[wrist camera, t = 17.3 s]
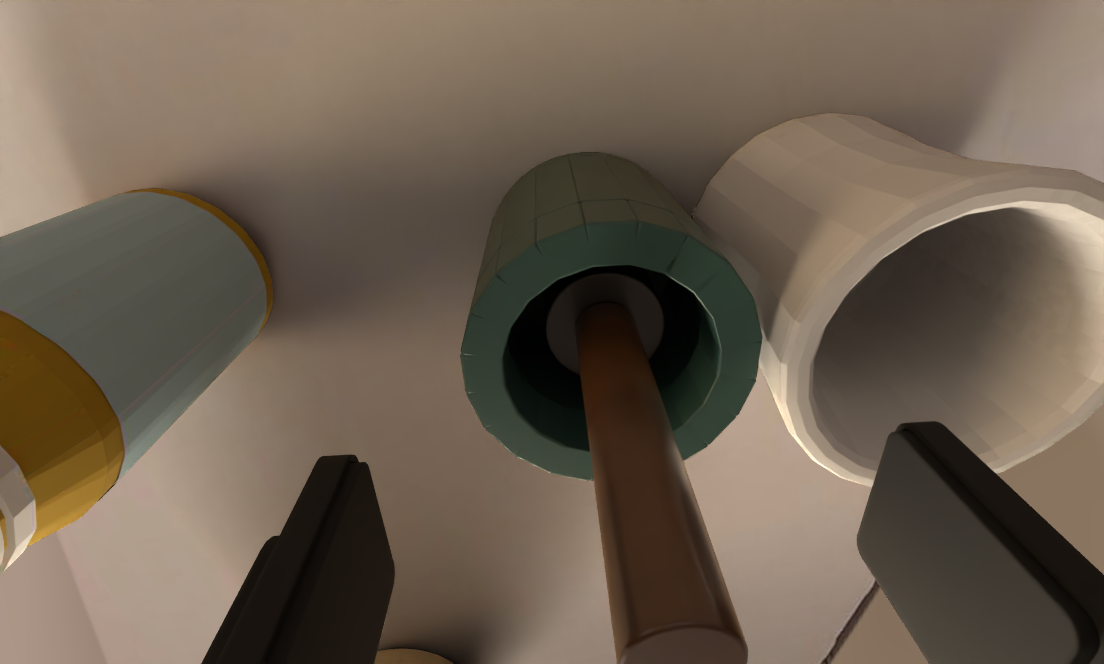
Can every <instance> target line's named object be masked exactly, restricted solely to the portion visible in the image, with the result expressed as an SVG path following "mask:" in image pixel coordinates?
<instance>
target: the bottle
mask: <svg viewBox="0 0 1104 664" xmlns="http://www.w3.org/2000/svg"><path fill="white" fill-rule="evenodd" d="M272 303H273V296H272V280H271V276H270V273H269V271H268V268H267V265H266V262H265V260H264V257H263V255H262V254H261V252H260V250H259V249H258V248H257V246H256V245H255V243H254V242H253V241H252V239H251V238H250V237H249V235H248V234H247V233H246V232H245V231H244V229H243V228H242V227H241V226H239V225H238V224H237V223H236V222H235V221H233V220H232V219H231V218H230V217H229V216H227V215H226V214H225V213H224V212H223V211H221V210H219V209H218V208H216V207H215V206H213V205H211V204H209V203H206V202H204V201H202V200H200V199H198V198H196V197H194V196H192V195H189V194H186V193H182V192H176V191H171V190H166V189H160V188H150V189H141V190H132V191H128V192H125V193H122V194H118V195H115V196H112V197H109V198H106V199H103V200H101V201H98V202H95V203H92V204H90V205H87V206H84V207H81V208H79V209H76V210H73V211H71V212H68V213H65V214H62V215H60V216H57V217H54V218H51V219H49V220H46V221H43V222H40V223H38V224H35V225H32V226H29V227H27V228H24V229H21V230H19V231H16V232H13V233H10V234H8V235H5V236H2V237H0V574H1V573H3V572H4V571H5V570H6V569H7V568H8V567H9V566H10V565H11V564H12V563H13V562H14V561H15V560H16V559H17V558H18V557H19V556H20V555H21V554H22V553H23V552H24V551H25V549H26V547H27V546H29V545H31V544H33V543H35V542H37V541H38V540H40V539H42V538H44V537H46V536H48V535H50V534H52V533H53V532H55V531H57V530H59V529H61V528H63V527H65V526H67V525H68V524H70V523H72V522H74V521H76V520H77V519H79V518H80V517H82V516H83V515H84V514H85V513H86V512H87V511H88V510H89V509H90V508H91V507H92V506H93V505H94V504H95V503H96V502H97V501H99V500H100V499H101V498H102V497H103V496H104V495H105V494H106V493H107V492H108V491H109V490H110V489H111V488H112V487H113V486H114V485H115V484H116V483H117V482H118V481H119V480H120V479H121V477H122V476H123V475H124V474H125V473H126V472H127V471H128V470H129V469H130V468H131V467H132V466H133V465H134V464H135V463H136V462H137V461H138V460H139V459H140V458H141V456H142V455H143V454H144V453H145V452H146V451H147V450H148V449H149V448H150V447H151V446H152V445H153V444H154V443H155V442H156V441H157V440H158V439H159V438H160V437H161V436H162V434H163V433H164V432H165V431H166V430H167V429H168V428H169V427H170V426H171V425H172V424H173V423H174V422H175V421H176V420H177V419H178V418H179V417H180V416H181V415H182V413H183V412H184V411H185V410H186V409H187V408H188V407H189V406H190V405H191V404H192V403H193V402H194V401H195V400H196V399H197V398H198V397H199V396H200V395H201V394H202V392H203V391H204V390H205V389H206V388H207V387H208V386H209V385H210V384H211V383H212V382H213V381H214V380H215V379H216V378H217V377H218V376H219V375H220V374H221V373H222V371H223V370H224V369H225V368H226V367H227V366H228V365H229V364H230V363H231V362H232V361H233V360H234V359H235V358H236V357H237V356H238V355H239V354H240V353H241V352H242V350H243V349H244V348H245V347H246V346H247V345H248V344H249V343H250V342H251V341H252V340H253V339H254V338H255V337H256V336H257V334H258V333H259V332H260V330H261V329H262V328H263V327H264V325H265V324H266V321H267V319H268V316H269V314H270V311H271V308H272Z"/></svg>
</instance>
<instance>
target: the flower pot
mask: <svg viewBox="0 0 1104 664" xmlns="http://www.w3.org/2000/svg"><path fill="white" fill-rule="evenodd" d="M374 664H454V663H452V662H451V661H449V660H447V659H445V658H443V657H441V656H439V655H436V654H433V653H430V652H426V651H421V650H414V649H388V650H382V651H377V654H376V658H375V662H374Z"/></svg>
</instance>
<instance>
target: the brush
mask: <svg viewBox="0 0 1104 664" xmlns="http://www.w3.org/2000/svg"><path fill="white" fill-rule="evenodd" d="M544 331H545V338H546V342H547V345H548V347H549V349H550V351H551V353H552V354H553V356H554V357H555V358H556V360H557V361H558V362H559V363H560V364H561V365H563V366H564V367H565V368H567V369H568V370H569V371H571V372H573V373H575V374H578V375H580V376H581V384H582V392H583V399H584V407H585V415H586V423H587V431H588V439H589V447H590V454H591V462H592V470H593V478H594V486H595V494H596V502H597V509H598V517H599V525H600V533H601V541H602V549H603V556H604V564H605V572H606V580H607V588H608V596H609V604H610V611H611V619H612V627H613V635H614V643H615V651H616V659H617V664H747V659H748V648H747V644H746V642H745V639H744V636H743V633H742V630H741V627H740V624H739V621H738V618H737V615H736V613H735V610H734V607H733V604H732V601H731V598H730V595H729V592H728V589H727V587H726V584H725V581H724V578H723V575H722V572H721V569H720V566H719V563H718V560H717V558H716V555H715V552H714V549H713V546H712V543H711V540H710V537H709V534H708V532H707V529H706V526H705V523H704V520H703V517H702V514H701V511H700V508H699V505H698V503H697V500H696V497H695V494H694V491H693V488H692V485H691V482H690V479H689V476H688V474H687V471H686V468H685V465H684V462H683V459H682V456H681V453H680V450H679V448H678V445H677V442H676V439H675V436H674V433H673V430H672V427H671V424H670V421H669V419H668V416H667V413H666V410H665V407H664V404H663V401H662V398H661V395H660V393H659V390H658V387H657V384H656V381H655V378H654V375H653V372H652V369H651V366H650V364H649V361H648V360H649V359H650V358H651V357H652V356H653V355H654V353H655V352H656V350H657V349H658V347H659V345H660V343H661V341H662V338H663V335H664V331H665V314H664V309H663V306H662V303H661V301H660V299H659V297H658V295H657V293H656V291H655V289H654V286H653V284H652V282H651V280H650V278H649V276H648V274H647V271H646V269H644V268H640V267H636V266H632V265H619V266H599V267H592V268H589V269H586V270H583V271H580V272H578V273H575V274H572V275H569V276H566V277H564V278H561V279H558V280H557V281H556V282H554V283H553V284H552V285H550V286H549V287H548V288H546V289H545V290H544Z"/></svg>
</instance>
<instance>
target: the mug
mask: <svg viewBox="0 0 1104 664" xmlns="http://www.w3.org/2000/svg"><path fill="white" fill-rule="evenodd" d="M693 220H694V222H695V223H696V224H697V225H698V226H699V227H700V228H701V230H702V231H703V232H704V233H705V234H706V235H707V237H708V238H709V239H710V240H711V241H712V242H713V243H714V245H715V246H716V247H717V248H718V249H719V250H720V252H721V253H722V254H723V255H724V256H725V257H726V259H727V260H728V261H729V262H730V263H731V265H732V266H733V268H734V269H735V271H736V272H737V274H738V275H739V276H740V278H741V279H742V281H743V282H744V284H745V285H746V287H747V288H748V290H749V291H750V293H751V294H752V296H753V298H754V300H755V304H756V309H757V313H758V318H759V322H760V327H761V331H762V336H763V339H762V345H761V352H760V358H759V365H758V366H759V367H760V369H761V371H762V373H763V375H764V377H765V379H766V381H767V383H768V386H769V388H770V390H771V393H772V395H773V397H774V399H775V402H776V404H777V406H778V409H779V411H780V413H781V415H782V418H783V420H784V422H785V424H786V427H787V429H788V431H789V432H790V433H791V435H792V436H793V437H794V438H795V440H796V441H797V442H798V443H799V444H800V446H801V447H802V448H803V449H804V451H805V452H806V453H807V454H808V456H809V457H810V458H811V459H812V460H813V461H815V462H816V463H818V464H819V465H821V466H823V467H824V468H826V469H827V470H829V471H831V472H832V473H834V474H835V475H837V476H839V477H840V478H843V479H846V480H850V481H853V482H857V483H860V484H864V485H867V486H870V487H872V486H873V483H874V480H875V476H876V473H877V470H878V467H879V463H880V460H881V457H882V454H883V450H884V447H885V444H886V441H887V438H888V436H889V434H890V433H891V432H895V431H896V429H897V427H898V426H899V425H900V424H902V423H910V422H927V421H936V422H940V423H942V424H943V425H944V426H946V427H947V428H948V429H949V430H950V431H951V432H952V433H953V434H954V435H955V436H956V437H957V438H959V439H960V440H961V441H962V442H963V443H964V444H965V445H966V446H967V447H968V448H969V449H970V450H971V451H972V452H973V453H974V454H976V455H977V456H978V457H979V458H980V459H981V460H982V461H983V462H984V463H985V464H986V465H987V466H988V467H989V468H990V469H991V470H993V471H994V472H995V473H999V472H1002V471H1004V470H1007V469H1009V468H1011V467H1013V466H1014V465H1016V464H1018V463H1020V462H1022V461H1024V460H1026V459H1028V458H1030V457H1032V456H1034V455H1036V454H1038V453H1040V452H1042V451H1044V450H1046V449H1047V448H1049V447H1050V446H1051V445H1053V444H1054V443H1056V442H1057V441H1058V440H1060V439H1061V438H1062V437H1064V436H1065V435H1067V434H1068V433H1069V432H1071V431H1072V430H1073V429H1075V428H1076V427H1078V426H1079V425H1080V424H1082V423H1083V422H1085V421H1086V420H1087V419H1088V418H1089V417H1090V416H1091V415H1092V414H1093V413H1094V412H1095V411H1096V410H1097V409H1098V408H1099V407H1100V406H1101V405H1102V404H1103V402H1104V183H1102V182H1100V181H1097V180H1095V179H1093V178H1091V177H1089V176H1086V175H1084V174H1082V173H1080V172H1077V171H1074V170H1065V169H1057V168H1048V167H1038V166H1028V165H1018V164H1009V163H999V162H990V161H982V160H974V159H969V158H966V157H963V156H959V155H956V154H953V153H950V152H947V151H943V150H940V149H937V148H934V147H931V146H928V145H924V144H922V143H920V142H919V141H917V140H915V139H913V138H911V137H909V136H908V135H906V134H903V133H901V132H899V131H897V130H894V129H892V128H890V127H888V126H885V125H883V124H881V123H878V122H876V121H874V120H871V119H869V118H867V117H865V116H859V115H848V114H837V113H825V114H819V115H813V116H808V117H803V118H797V119H792V120H789V121H786V122H784V123H782V124H780V125H778V126H775V127H773V128H771V129H769V130H767V131H765V132H762V133H760V134H758V135H757V136H755V137H754V138H753V139H752V140H750V141H749V142H748V143H747V144H745V145H744V146H743V147H741V148H740V149H739V150H738V151H736V152H735V153H734V154H733V155H731V156H730V157H729V158H728V160H727V161H726V162H725V163H724V165H723V166H722V167H721V168H720V169H719V171H718V172H717V173H716V174H715V176H714V177H713V178H712V179H711V181H710V182H709V183H708V185H707V187H706V189H705V191H704V193H703V195H702V197H701V199H700V201H699V203H698V205H697V208H696V210H695V212H694V216H693Z"/></svg>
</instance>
